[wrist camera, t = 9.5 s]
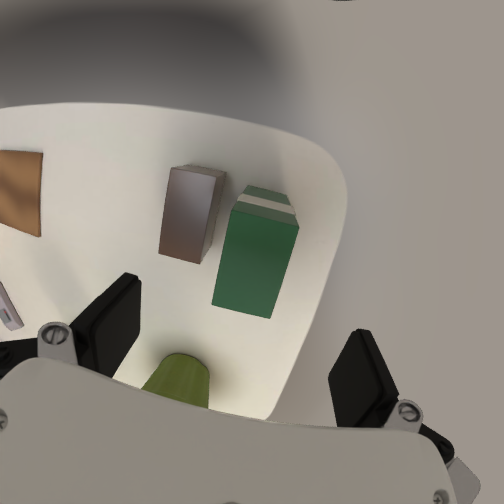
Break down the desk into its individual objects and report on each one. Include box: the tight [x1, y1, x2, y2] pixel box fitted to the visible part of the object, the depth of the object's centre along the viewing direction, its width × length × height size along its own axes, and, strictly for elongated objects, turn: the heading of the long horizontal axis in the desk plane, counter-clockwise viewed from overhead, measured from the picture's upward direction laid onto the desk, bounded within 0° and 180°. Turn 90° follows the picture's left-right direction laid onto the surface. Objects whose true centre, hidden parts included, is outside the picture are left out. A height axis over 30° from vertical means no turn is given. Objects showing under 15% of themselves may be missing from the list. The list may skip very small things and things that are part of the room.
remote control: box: [0, 282, 24, 331], centre depth 35 cm, size 7×16×3 cm, turn 20°
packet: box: [212, 185, 299, 319], centre depth 22 cm, size 9×7×12 cm
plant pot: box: [141, 354, 209, 409], centre depth 31 cm, size 12×12×11 cm
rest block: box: [158, 165, 226, 264], centre depth 25 cm, size 8×4×5 cm, turn 166°
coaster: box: [0, 150, 43, 237], centre depth 28 cm, size 12×12×1 cm
